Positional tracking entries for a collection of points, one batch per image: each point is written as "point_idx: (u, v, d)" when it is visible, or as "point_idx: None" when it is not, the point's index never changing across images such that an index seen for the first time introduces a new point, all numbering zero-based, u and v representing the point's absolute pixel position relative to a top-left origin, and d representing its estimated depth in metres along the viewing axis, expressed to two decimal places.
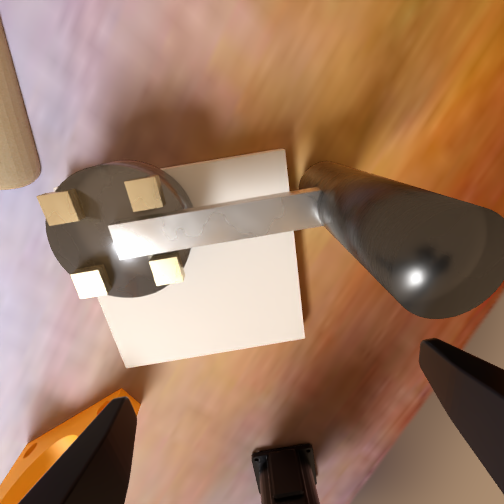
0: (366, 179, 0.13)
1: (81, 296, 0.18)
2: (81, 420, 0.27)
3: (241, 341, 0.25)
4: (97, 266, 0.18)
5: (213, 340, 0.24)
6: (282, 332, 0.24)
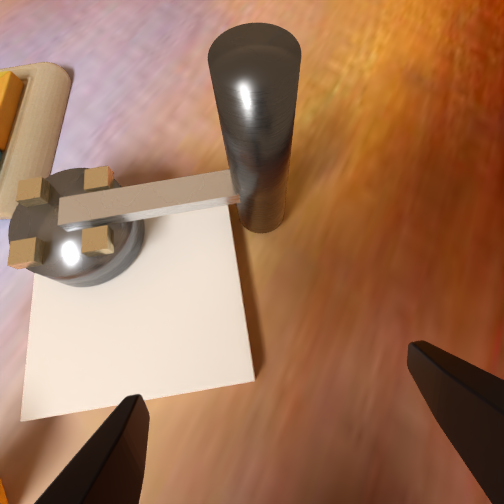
0: None
1: (9, 263, 0.18)
2: None
3: (172, 382, 0.19)
4: (38, 241, 0.19)
5: (138, 379, 0.19)
6: (225, 369, 0.19)
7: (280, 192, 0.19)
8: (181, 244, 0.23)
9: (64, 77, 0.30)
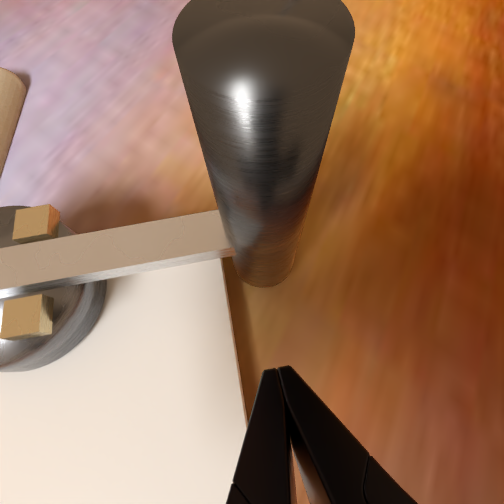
0: None
1: None
2: None
3: None
4: None
5: None
6: (216, 500, 0.13)
7: (293, 244, 0.13)
8: (156, 305, 0.17)
9: (16, 85, 0.25)
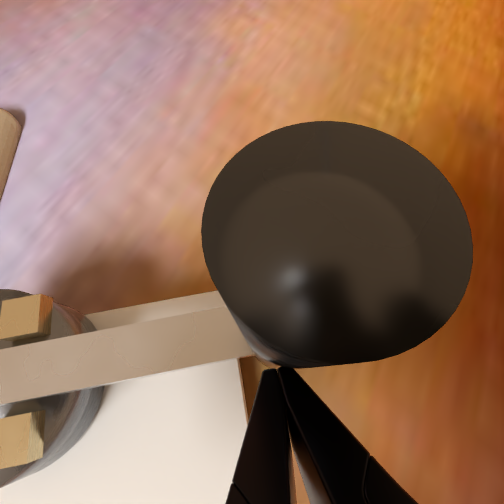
0: None
1: None
2: None
3: None
4: None
5: None
6: None
7: None
8: (162, 396, 0.15)
9: (11, 125, 0.23)
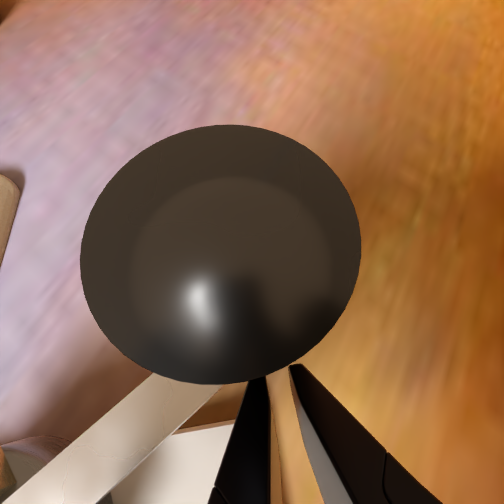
0: None
1: None
2: None
3: None
4: None
5: None
6: None
7: None
8: None
9: (7, 191, 0.20)
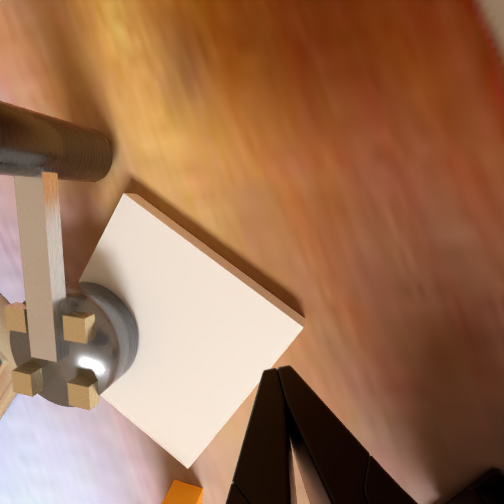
0: None
1: (88, 408, 0.19)
2: None
3: (249, 376, 0.20)
4: (74, 381, 0.20)
5: (226, 392, 0.21)
6: (275, 338, 0.20)
7: (41, 122, 0.16)
8: (151, 278, 0.21)
9: None
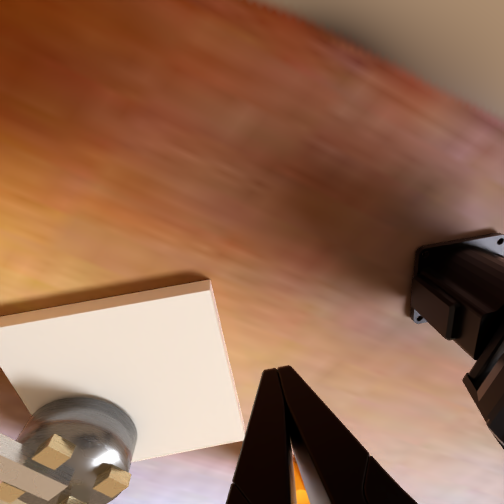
0: None
1: (125, 487, 0.20)
2: None
3: (214, 353, 0.22)
4: (99, 480, 0.21)
5: (212, 377, 0.23)
6: (200, 315, 0.20)
7: None
8: (76, 363, 0.21)
9: None
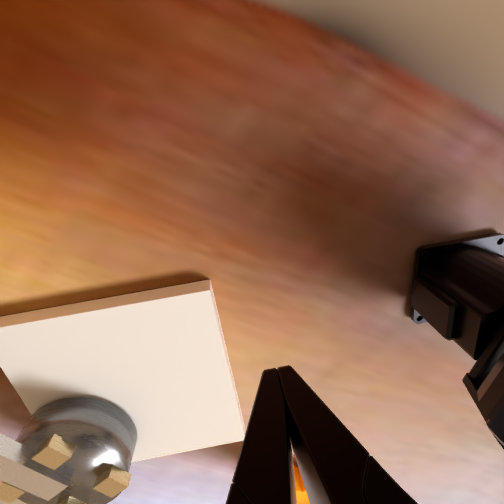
0: None
1: (125, 487, 0.20)
2: None
3: (214, 353, 0.22)
4: (99, 480, 0.21)
5: (212, 377, 0.23)
6: (200, 315, 0.20)
7: None
8: (76, 363, 0.21)
9: None
